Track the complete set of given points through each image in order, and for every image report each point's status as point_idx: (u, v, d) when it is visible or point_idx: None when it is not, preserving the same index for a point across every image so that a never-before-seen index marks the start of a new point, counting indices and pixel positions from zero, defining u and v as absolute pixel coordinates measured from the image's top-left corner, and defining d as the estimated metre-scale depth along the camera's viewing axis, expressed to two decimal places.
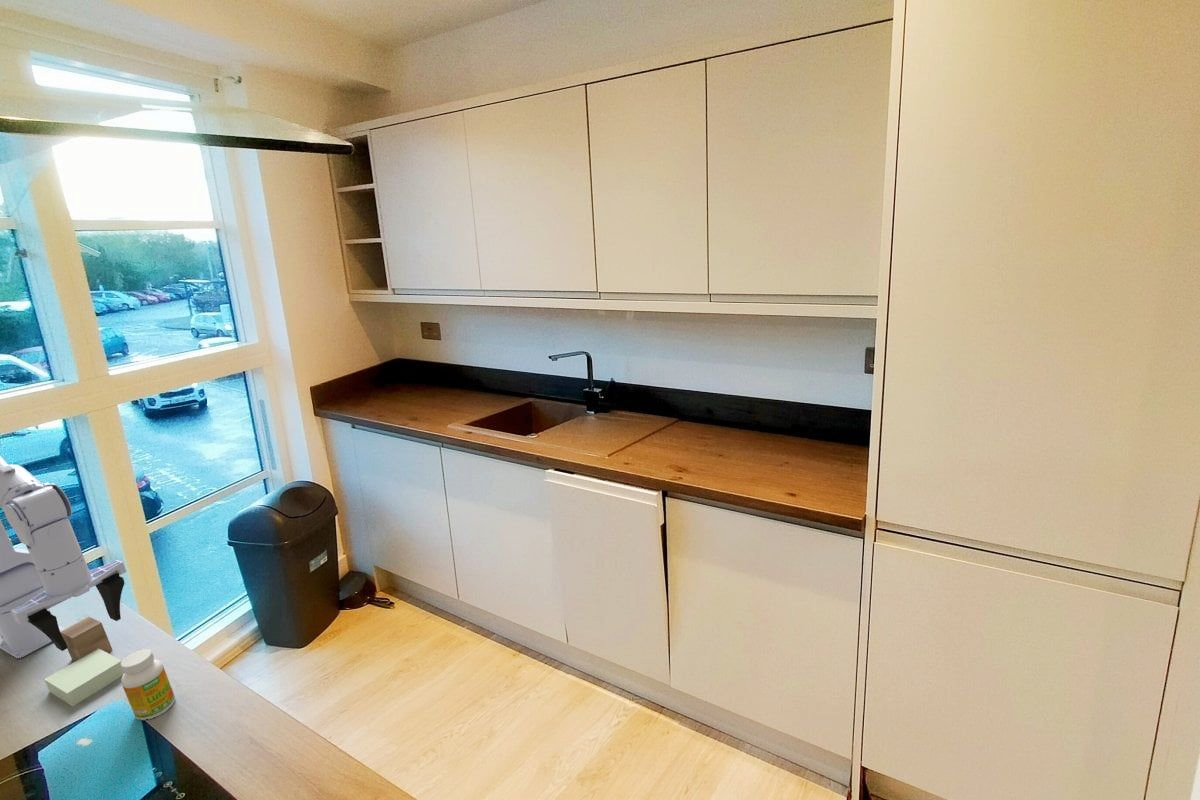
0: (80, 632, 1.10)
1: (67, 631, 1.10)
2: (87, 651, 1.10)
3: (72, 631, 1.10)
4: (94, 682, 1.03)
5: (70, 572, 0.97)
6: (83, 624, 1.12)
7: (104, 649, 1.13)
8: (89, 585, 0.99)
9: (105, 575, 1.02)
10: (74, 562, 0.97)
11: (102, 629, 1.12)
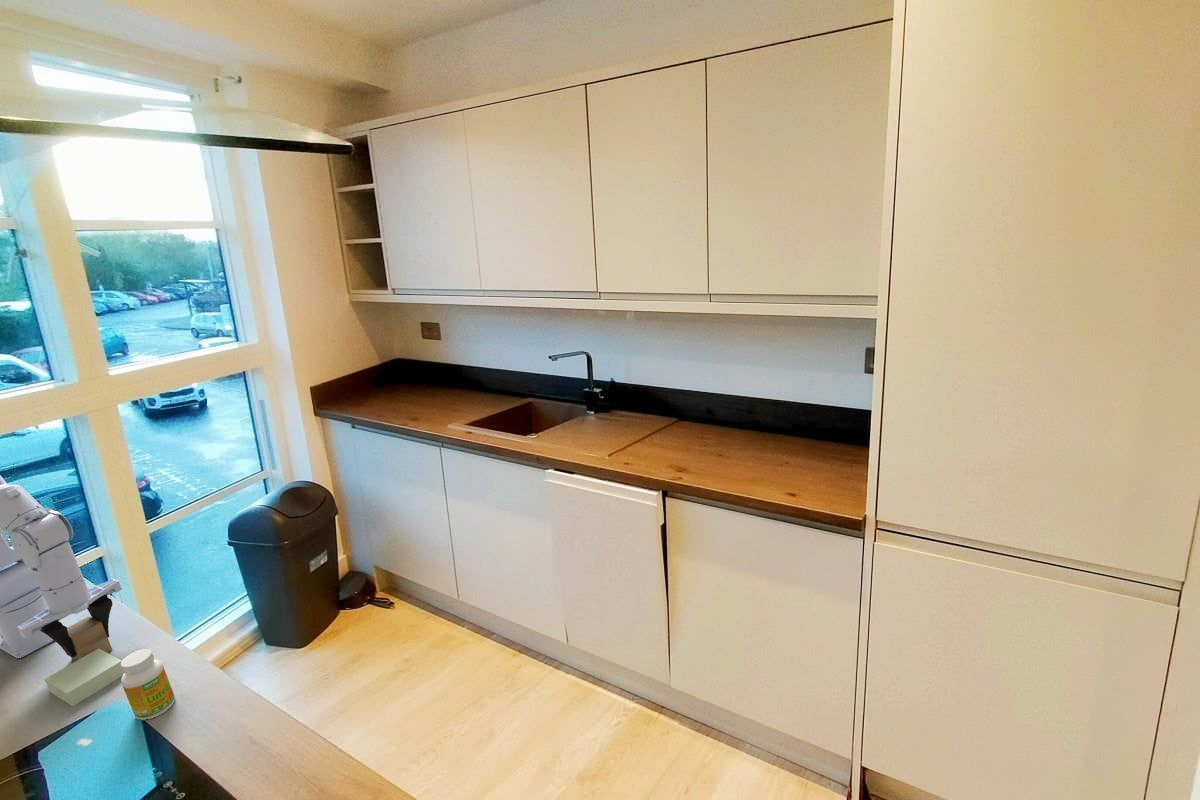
0: (80, 632, 1.10)
1: None
2: (87, 651, 1.10)
3: (72, 631, 1.10)
4: (94, 683, 1.03)
5: (71, 591, 1.07)
6: (83, 624, 1.12)
7: (104, 649, 1.13)
8: (88, 603, 1.10)
9: (102, 593, 1.12)
10: (74, 582, 1.08)
11: (102, 629, 1.12)
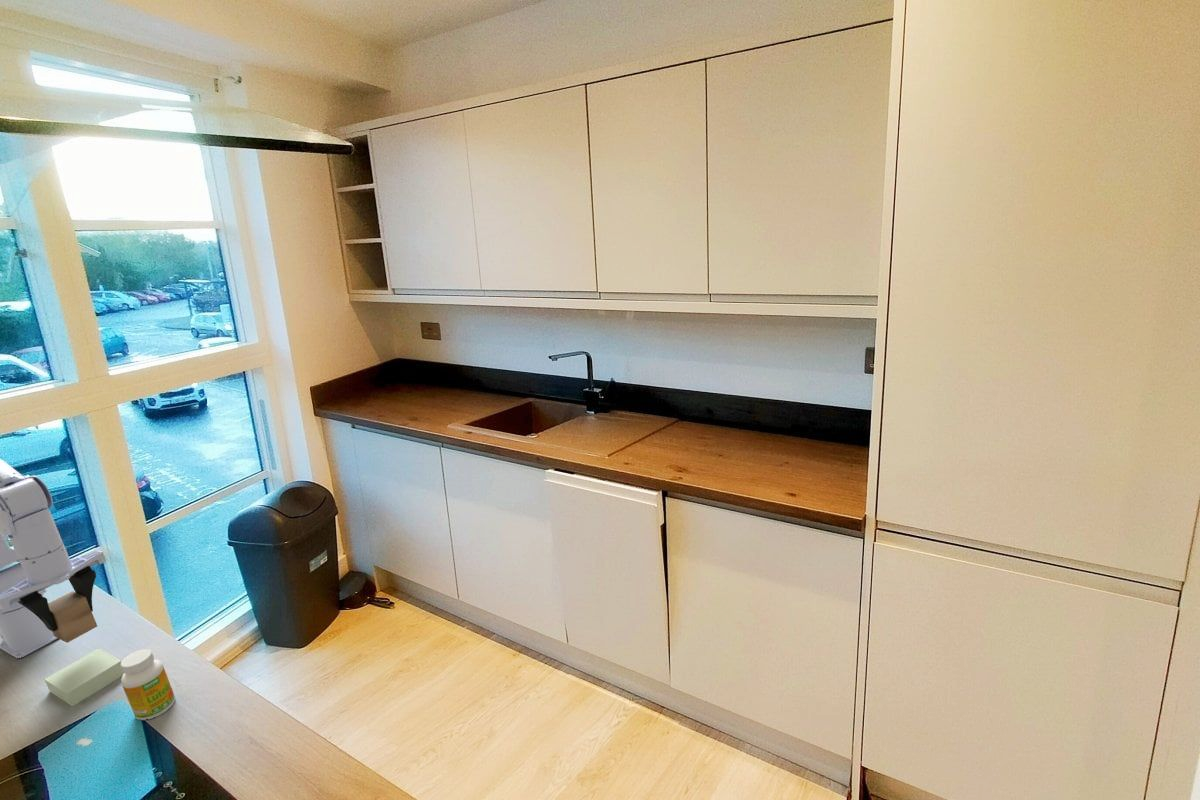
0: (63, 607, 1.04)
1: (49, 606, 1.04)
2: (71, 627, 1.05)
3: (54, 606, 1.04)
4: (94, 683, 1.03)
5: (51, 560, 1.01)
6: (66, 599, 1.06)
7: (88, 625, 1.07)
8: (69, 573, 1.04)
9: (85, 564, 1.06)
10: (55, 551, 1.02)
11: (86, 604, 1.06)
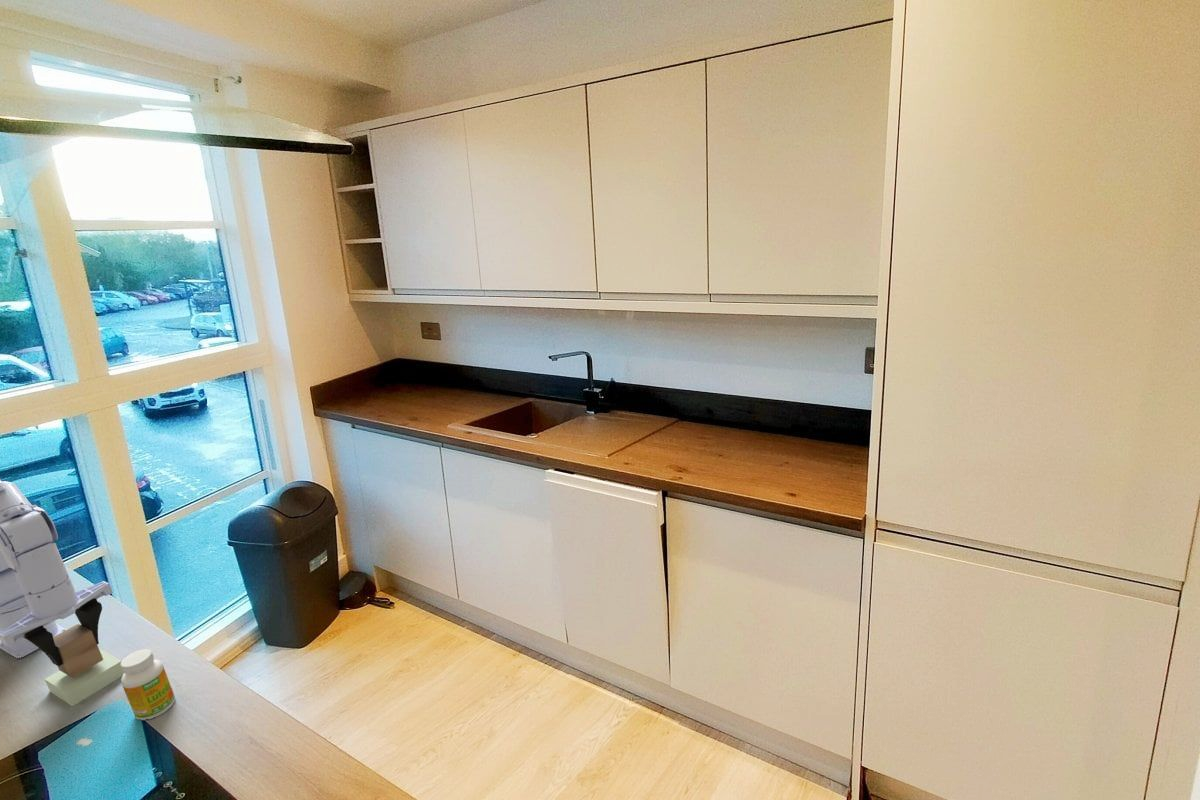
0: (68, 641, 1.01)
1: (54, 640, 1.02)
2: (76, 662, 1.02)
3: (59, 640, 1.02)
4: (94, 683, 1.03)
5: (57, 595, 0.99)
6: (72, 632, 1.04)
7: (94, 659, 1.04)
8: (75, 607, 1.01)
9: (91, 596, 1.04)
10: (60, 585, 0.99)
11: (92, 638, 1.04)
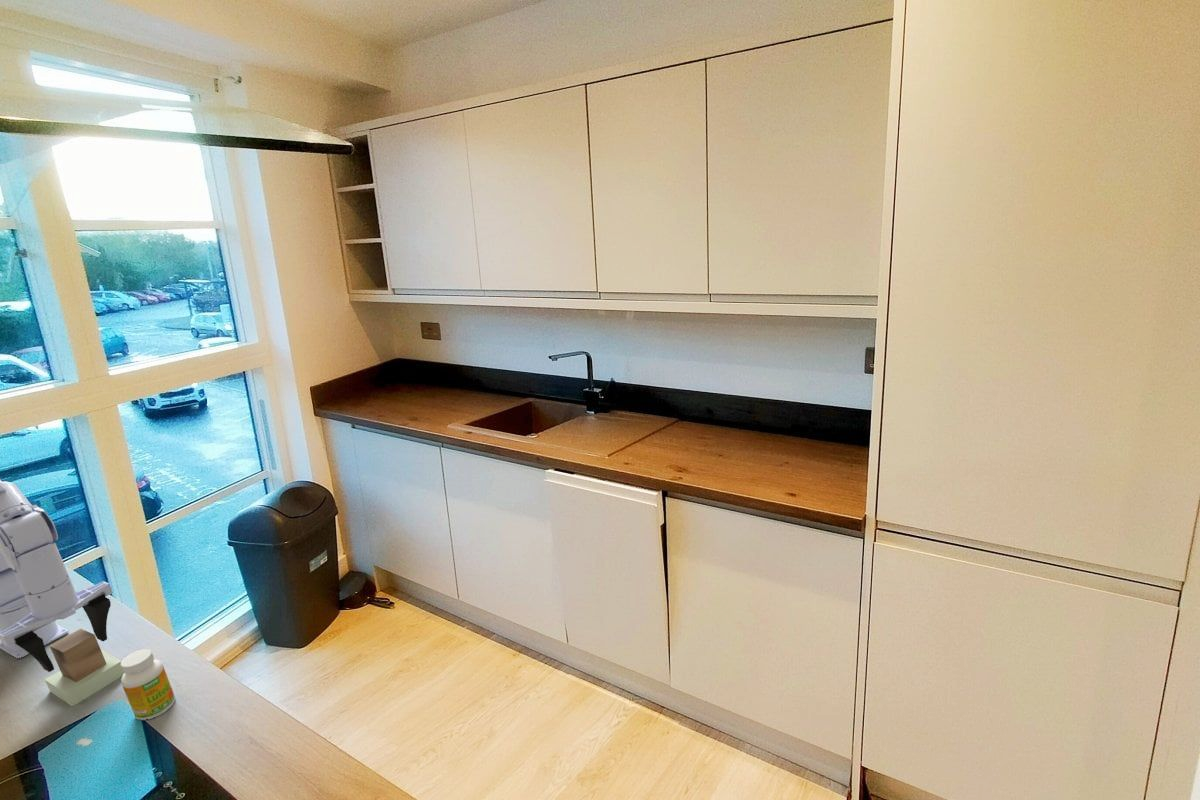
0: (72, 646, 1.02)
1: (57, 644, 1.02)
2: (80, 666, 1.03)
3: (62, 645, 1.02)
4: (94, 683, 1.03)
5: (57, 595, 0.99)
6: (74, 637, 1.04)
7: (97, 663, 1.05)
8: (75, 607, 1.01)
9: (91, 597, 1.04)
10: (60, 585, 0.99)
11: (95, 642, 1.04)
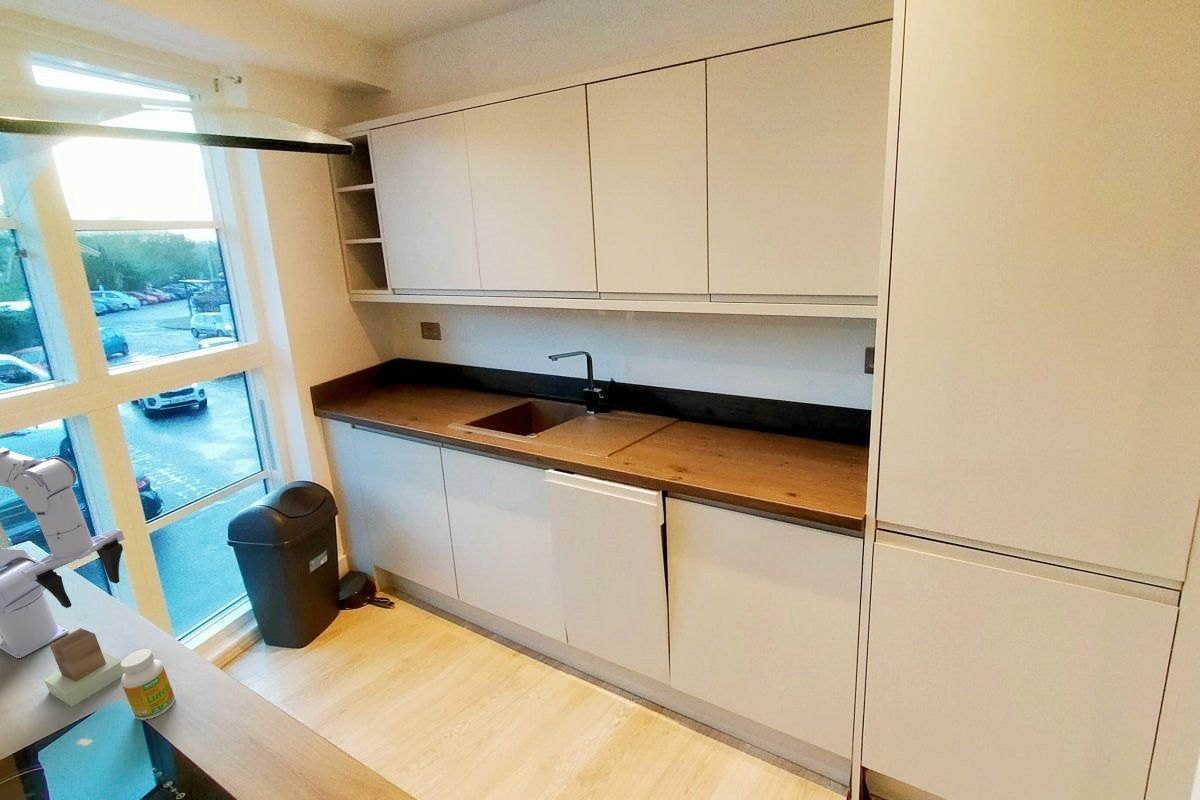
0: (72, 644, 1.02)
1: (57, 643, 1.03)
2: (80, 665, 1.03)
3: (63, 644, 1.02)
4: (93, 683, 1.03)
5: (74, 537, 1.08)
6: (75, 636, 1.04)
7: (97, 663, 1.05)
8: (91, 549, 1.10)
9: (105, 541, 1.13)
10: (77, 528, 1.08)
11: (95, 641, 1.05)
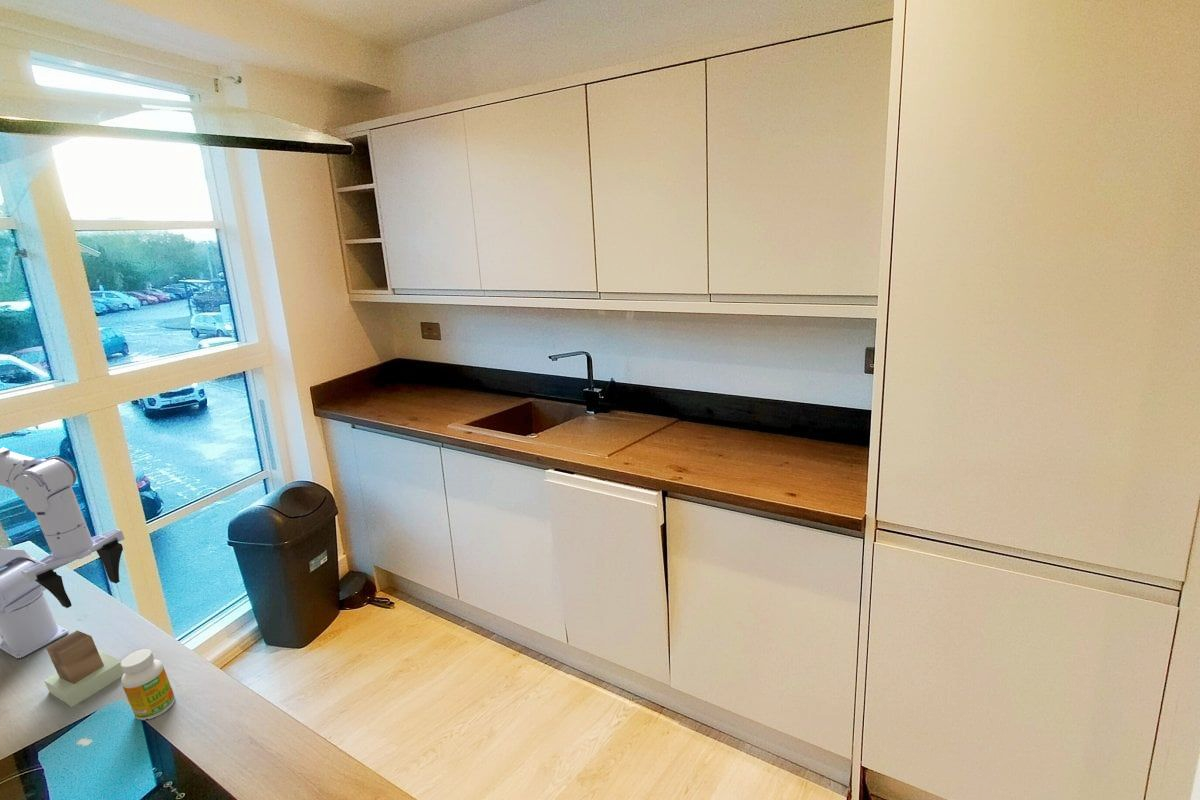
0: (69, 647, 1.01)
1: (54, 646, 1.02)
2: (77, 668, 1.02)
3: (59, 647, 1.02)
4: (93, 684, 1.03)
5: (74, 537, 1.08)
6: (71, 638, 1.04)
7: (95, 665, 1.05)
8: (91, 549, 1.10)
9: (105, 541, 1.13)
10: (77, 528, 1.08)
11: (92, 643, 1.04)
